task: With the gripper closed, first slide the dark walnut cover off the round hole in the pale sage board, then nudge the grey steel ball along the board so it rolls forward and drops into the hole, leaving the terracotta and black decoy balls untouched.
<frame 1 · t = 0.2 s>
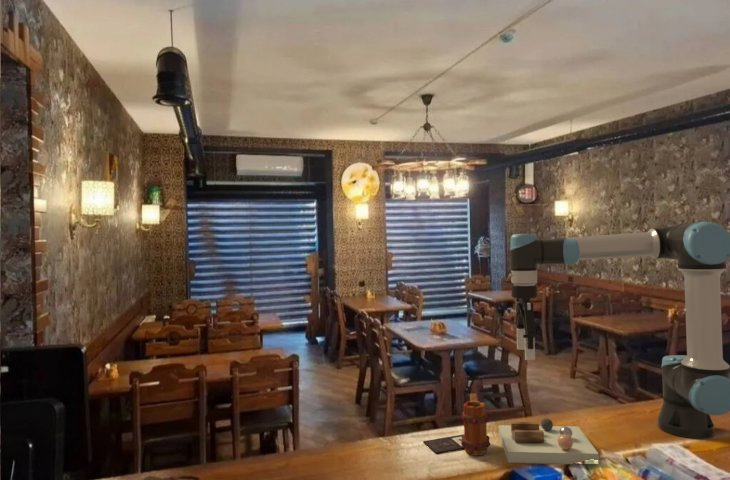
hand: (525, 354, 155), 27 cm above the bar counter, fingers open, 13 cm apart
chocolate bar: (456, 445, 155), on the bar counter
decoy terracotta: (565, 442, 142), point 5 cm above the bar counter, touching board
ball: (565, 432, 149), point 5 cm above the bar counter, touching board
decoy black: (546, 424, 156), point 5 cm above the bar counter, touching board
board: (545, 448, 150), on the bar counter
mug: (475, 449, 151), on the bar counter
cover: (526, 432, 150), point 5 cm above the bar counter, slide at 0.0 cm
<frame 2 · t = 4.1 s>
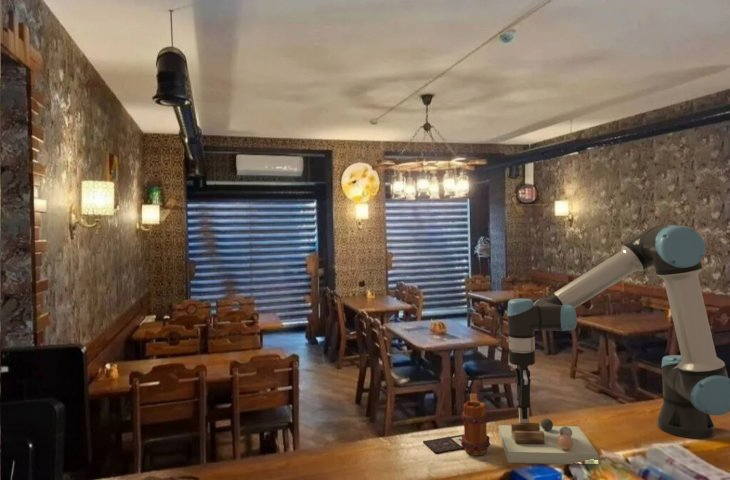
hand: (524, 428, 154), 4 cm above the bar counter, fingers closed
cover: (527, 432, 150), point 5 cm above the bar counter, slide at 0.7 cm, touching gripper
everything else where it was.
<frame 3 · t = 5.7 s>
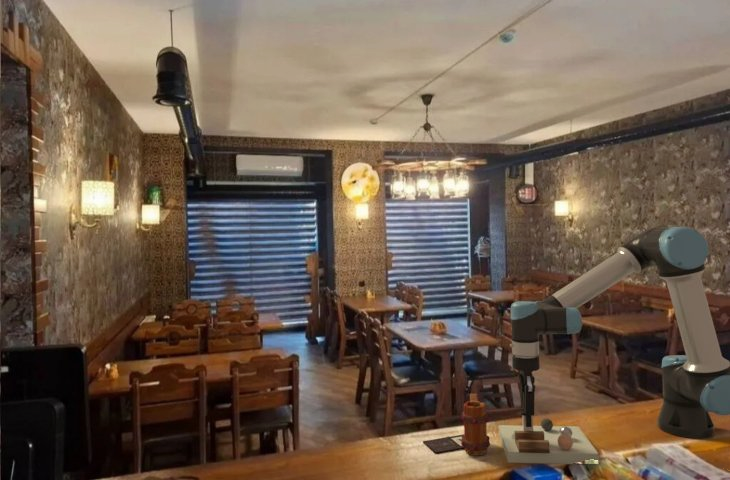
hand: (528, 436, 148), 4 cm above the bar counter, fingers closed
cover: (531, 441, 143), point 5 cm above the bar counter, slide at 7.2 cm, touching gripper
everything else where it was.
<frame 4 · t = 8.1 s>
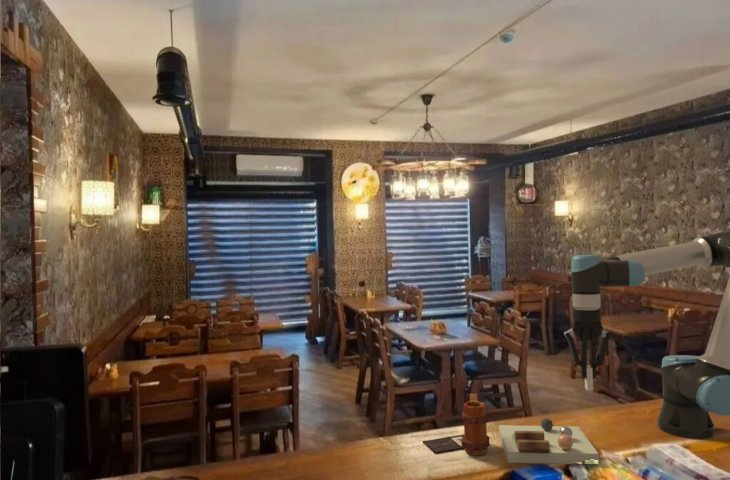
hand: (588, 389, 148), 17 cm above the bar counter, fingers closed
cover: (531, 441, 143), point 5 cm above the bar counter, slide at 7.2 cm
everything else where it was.
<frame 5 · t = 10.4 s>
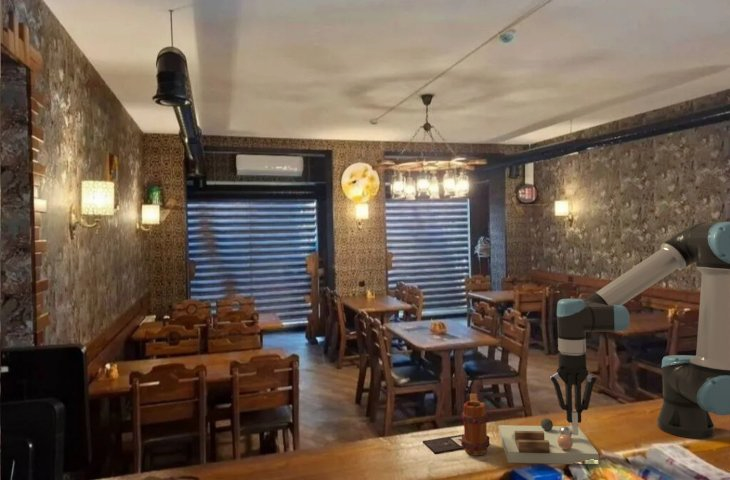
hand: (574, 433, 148), 5 cm above the bar counter, fingers closed
ball: (565, 432, 149), point 5 cm above the bar counter, touching board, gripper
everything else where it was.
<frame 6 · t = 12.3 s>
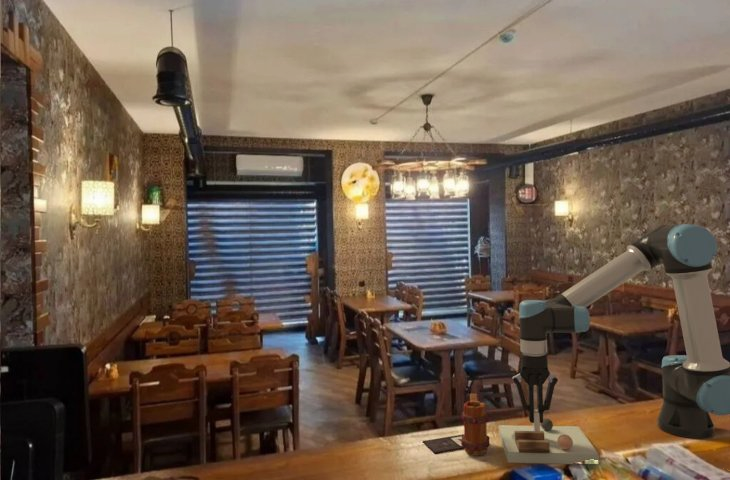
hand: (536, 433, 150), 4 cm above the bar counter, fingers closed
ball: (528, 442, 150), point 2 cm above the bar counter, tilted 28°
everything else where it was.
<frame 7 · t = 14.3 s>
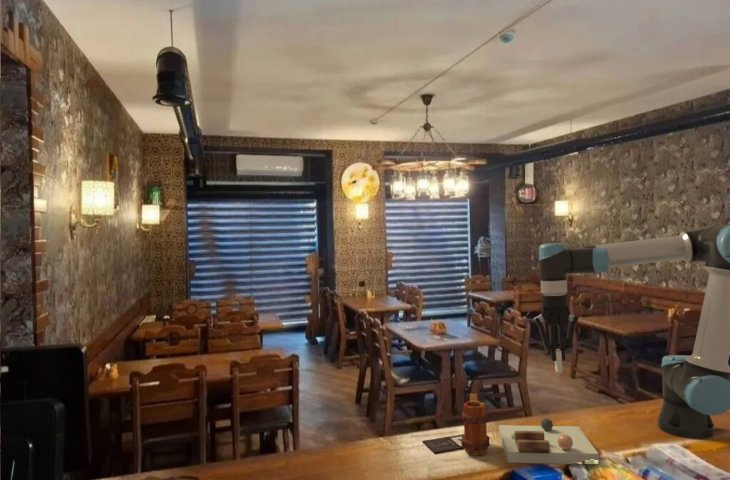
hand: (558, 371, 155), 21 cm above the bar counter, fingers closed
ball: (527, 442, 150), point 2 cm above the bar counter, tilted 40°
everything else where it was.
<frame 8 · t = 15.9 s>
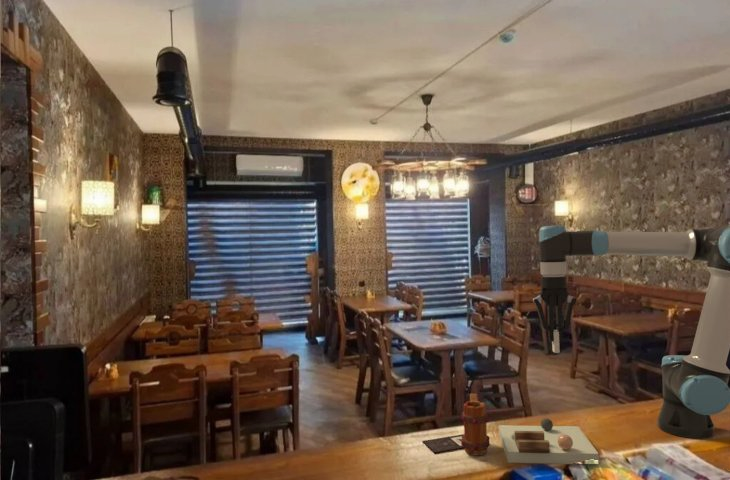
hand: (556, 351, 158), 26 cm above the bar counter, fingers closed
ball: (526, 442, 150), point 2 cm above the bar counter, tilted 49°
everything else where it was.
at the end: ball 0.3 cm from the target spot in the board, point 1.7 cm above the board's base; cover slide at 7.2 cm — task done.
